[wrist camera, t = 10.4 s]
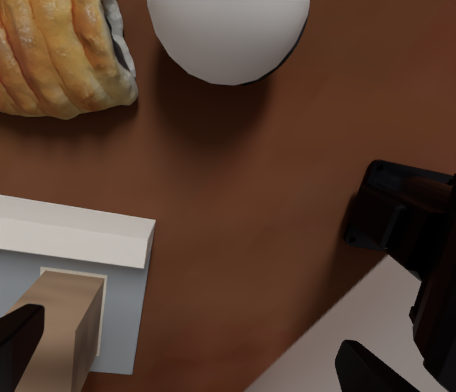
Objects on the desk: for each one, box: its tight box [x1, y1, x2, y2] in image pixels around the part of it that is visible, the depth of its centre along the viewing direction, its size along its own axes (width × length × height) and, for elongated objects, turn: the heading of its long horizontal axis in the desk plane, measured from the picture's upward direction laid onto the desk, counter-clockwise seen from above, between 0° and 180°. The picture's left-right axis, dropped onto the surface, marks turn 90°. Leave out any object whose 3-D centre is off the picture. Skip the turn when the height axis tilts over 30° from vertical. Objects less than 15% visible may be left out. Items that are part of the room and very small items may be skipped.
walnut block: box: [5, 270, 105, 392], centre depth 19 cm, size 7×4×5 cm, turn 168°
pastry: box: [0, 0, 138, 120], centre depth 15 cm, size 9×7×4 cm
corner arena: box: [0, 195, 156, 375], centre depth 20 cm, size 14×14×3 cm
